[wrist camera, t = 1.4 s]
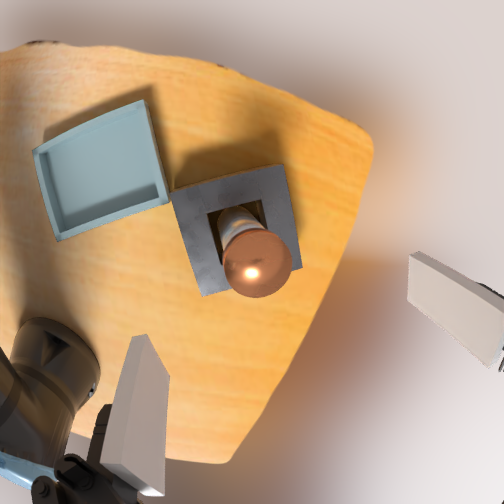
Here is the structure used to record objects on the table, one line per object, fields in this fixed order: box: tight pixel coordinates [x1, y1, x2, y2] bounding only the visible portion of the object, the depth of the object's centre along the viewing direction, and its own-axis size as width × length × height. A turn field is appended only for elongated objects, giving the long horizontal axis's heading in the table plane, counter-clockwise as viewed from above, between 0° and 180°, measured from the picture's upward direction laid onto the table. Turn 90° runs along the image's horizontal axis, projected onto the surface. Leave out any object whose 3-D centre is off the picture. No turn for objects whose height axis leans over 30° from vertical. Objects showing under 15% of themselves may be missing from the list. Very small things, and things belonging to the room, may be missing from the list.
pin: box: [217, 206, 292, 298], centre depth 24 cm, size 5×5×13 cm
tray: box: [32, 99, 171, 242], centre depth 25 cm, size 14×11×2 cm
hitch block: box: [169, 164, 303, 296], centre depth 29 cm, size 11×11×4 cm
